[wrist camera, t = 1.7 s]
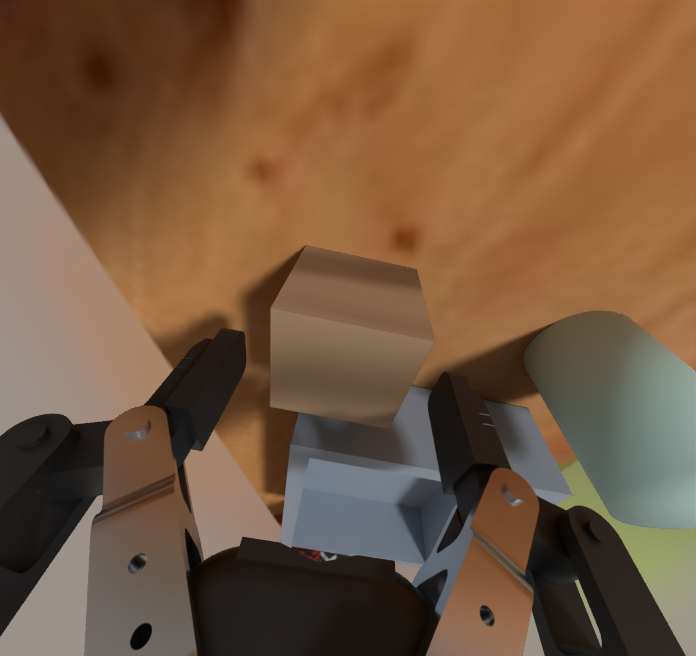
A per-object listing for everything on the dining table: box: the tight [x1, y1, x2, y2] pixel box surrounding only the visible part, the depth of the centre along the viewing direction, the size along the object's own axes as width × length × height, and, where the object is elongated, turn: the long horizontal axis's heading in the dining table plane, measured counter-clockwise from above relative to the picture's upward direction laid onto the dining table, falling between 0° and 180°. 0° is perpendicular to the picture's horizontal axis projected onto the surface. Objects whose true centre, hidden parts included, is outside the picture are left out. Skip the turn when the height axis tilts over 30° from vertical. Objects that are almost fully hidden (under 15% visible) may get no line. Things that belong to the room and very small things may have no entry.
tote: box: [280, 386, 573, 567], centre depth 20 cm, size 18×14×5 cm
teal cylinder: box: [523, 311, 696, 529], centre depth 11 cm, size 5×5×7 cm
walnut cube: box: [270, 245, 435, 429], centre depth 11 cm, size 5×5×5 cm
